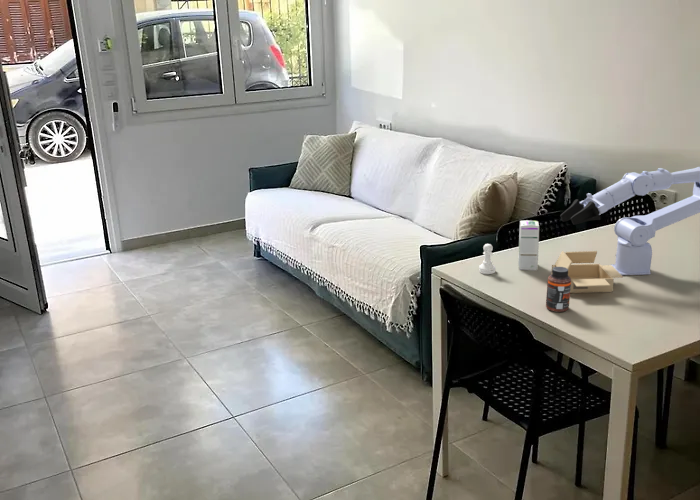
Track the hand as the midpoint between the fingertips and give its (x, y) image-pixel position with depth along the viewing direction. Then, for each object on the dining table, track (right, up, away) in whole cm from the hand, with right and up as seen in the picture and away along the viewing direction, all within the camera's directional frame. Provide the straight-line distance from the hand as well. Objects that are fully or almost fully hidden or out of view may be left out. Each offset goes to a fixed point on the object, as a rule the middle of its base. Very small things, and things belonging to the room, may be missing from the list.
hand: (566, 220), depth 190 cm
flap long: (-3, -15, -1) cm, 15 cm away
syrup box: (-7, -14, +15) cm, 22 cm away
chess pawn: (-20, -16, +12) cm, 29 cm away
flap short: (+5, -13, +4) cm, 14 cm away
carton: (+6, -19, -2) cm, 20 cm away
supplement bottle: (-7, -25, -14) cm, 29 cm away
